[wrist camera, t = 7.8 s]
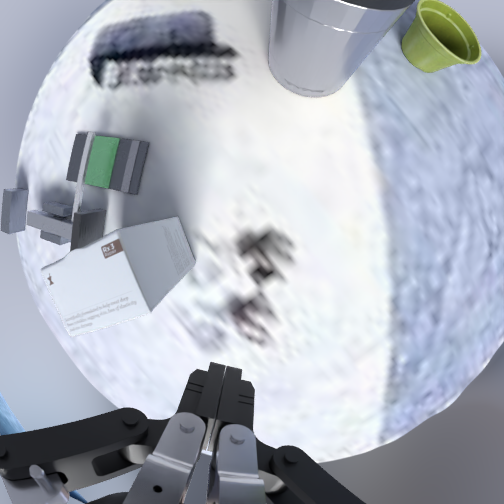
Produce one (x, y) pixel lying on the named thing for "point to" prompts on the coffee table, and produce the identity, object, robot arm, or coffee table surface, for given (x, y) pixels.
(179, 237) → the skincare box
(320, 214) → the coffee table surface
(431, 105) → the coffee table surface
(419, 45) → the plant pot
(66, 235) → the grey l-shaped bracket
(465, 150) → the coffee table surface
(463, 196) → the coffee table surface
